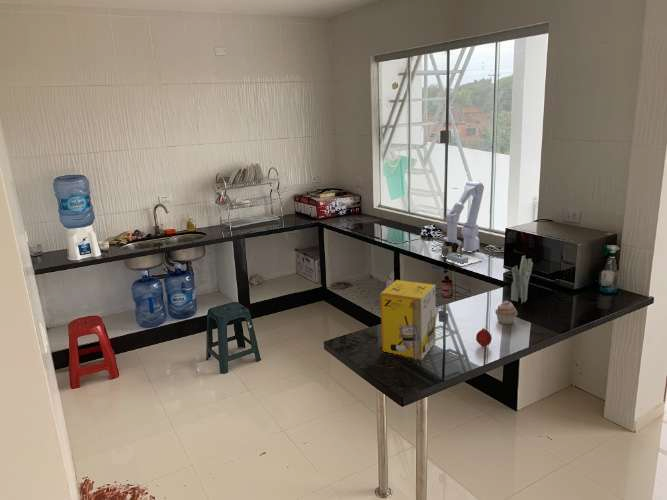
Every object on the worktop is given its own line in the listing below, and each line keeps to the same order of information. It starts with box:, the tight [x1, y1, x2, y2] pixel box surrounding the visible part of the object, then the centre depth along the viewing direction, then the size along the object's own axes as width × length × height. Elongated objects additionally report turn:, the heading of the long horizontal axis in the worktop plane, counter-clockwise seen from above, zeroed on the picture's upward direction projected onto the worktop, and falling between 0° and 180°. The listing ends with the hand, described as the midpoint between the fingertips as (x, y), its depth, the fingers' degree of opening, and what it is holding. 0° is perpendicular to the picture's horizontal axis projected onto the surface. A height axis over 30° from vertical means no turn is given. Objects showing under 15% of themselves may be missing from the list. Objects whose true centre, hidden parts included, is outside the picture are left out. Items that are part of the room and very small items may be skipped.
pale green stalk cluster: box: [510, 255, 534, 304], centre depth 236 cm, size 28×7×20 cm, turn 148°
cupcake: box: [495, 300, 518, 326], centre depth 214 cm, size 9×9×10 cm
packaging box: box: [379, 279, 437, 360], centre depth 195 cm, size 16×16×25 cm
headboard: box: [446, 253, 482, 264], centre depth 299 cm, size 16×14×4 cm
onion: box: [475, 327, 493, 348], centre depth 195 cm, size 6×6×8 cm
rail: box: [441, 244, 463, 256], centre depth 311 cm, size 13×4×6 cm, turn 119°
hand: (451, 253), depth 312 cm, fingers closed on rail, 4 cm apart
